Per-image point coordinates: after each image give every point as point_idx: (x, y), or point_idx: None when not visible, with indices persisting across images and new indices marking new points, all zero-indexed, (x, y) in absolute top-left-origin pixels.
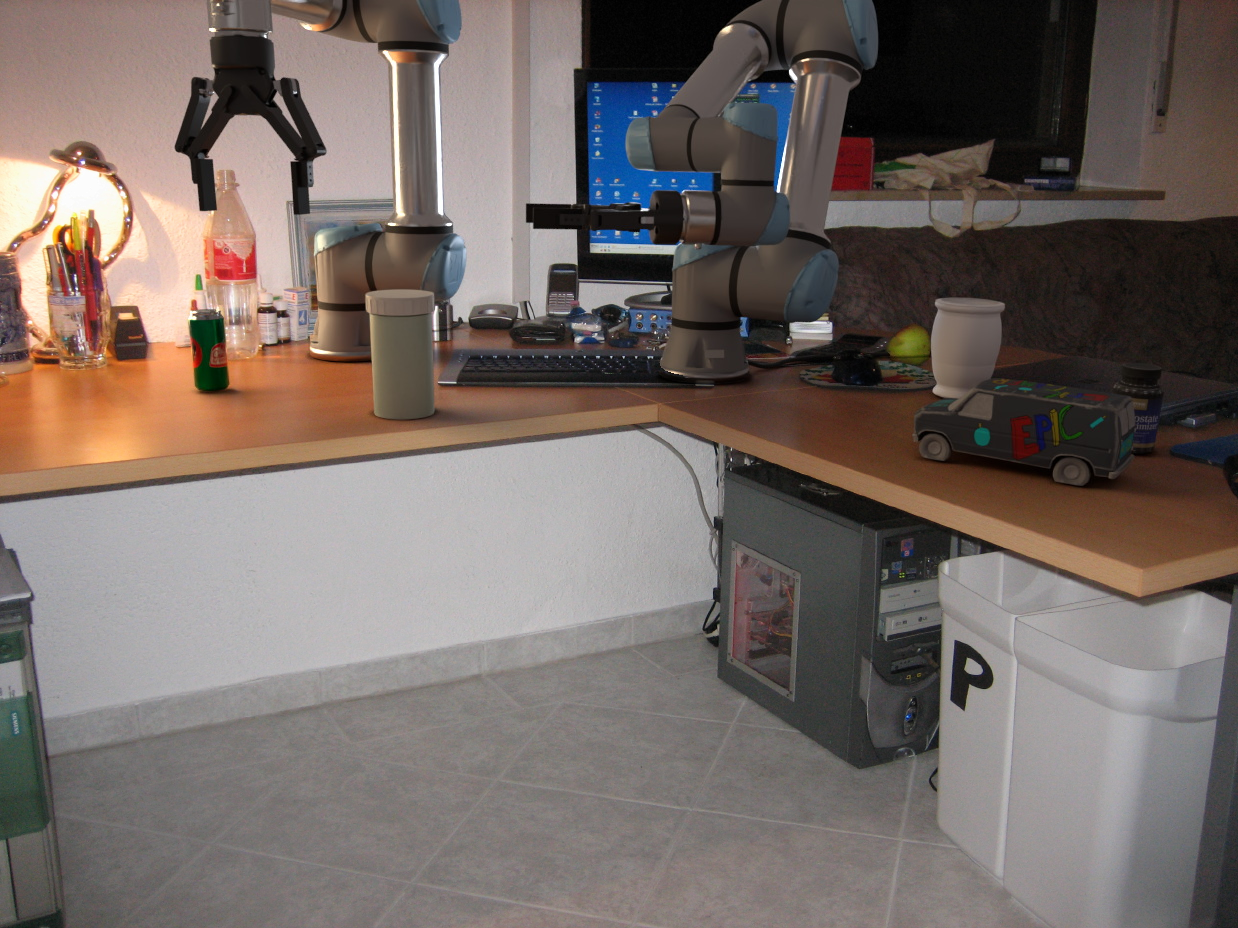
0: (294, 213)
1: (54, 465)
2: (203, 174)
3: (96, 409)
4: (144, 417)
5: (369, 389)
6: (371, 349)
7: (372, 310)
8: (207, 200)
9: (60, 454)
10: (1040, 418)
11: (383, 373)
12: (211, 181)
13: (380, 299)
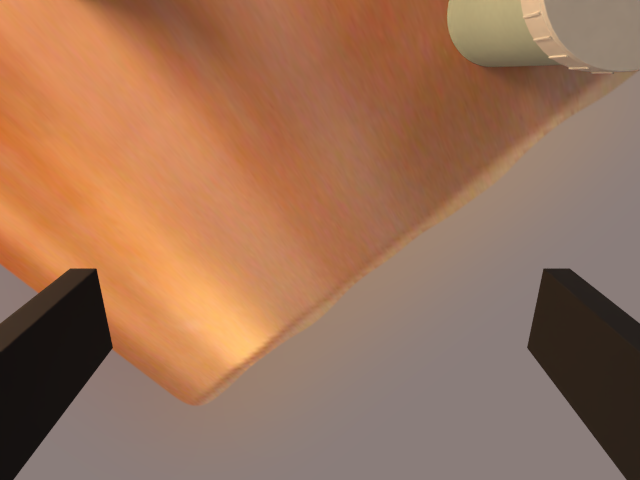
0: (533, 350)
1: (207, 380)
2: (10, 464)
3: (22, 159)
4: (127, 179)
5: None
6: (495, 33)
7: (558, 60)
8: (85, 352)
9: (179, 349)
10: None
11: (512, 64)
12: (16, 370)
13: (604, 70)
